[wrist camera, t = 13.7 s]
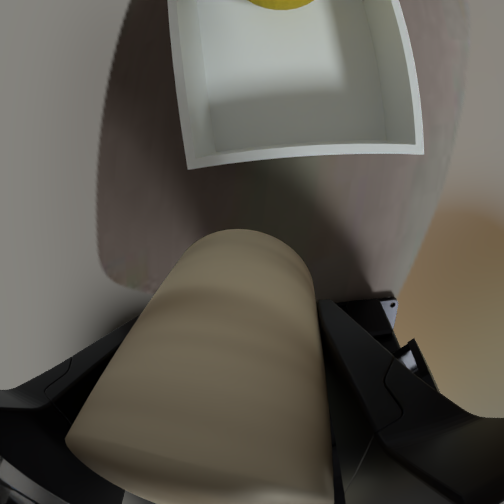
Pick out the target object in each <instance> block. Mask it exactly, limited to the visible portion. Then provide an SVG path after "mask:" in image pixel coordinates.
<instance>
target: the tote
mask: <svg viewBox="0 0 504 504" xmlns="http://www.w3.org/2000/svg"><path fill="white" fill-rule="evenodd" d="M167 1H168V15H169V28H170V39H171V49H172V59H173V68H174V77H175V85H176V93H177V101H178V109H179V116H180V123H181V130H182V136H183V143H184V149H185V156H186V162H187V168H188V170H190V169H196V168H203V167H209V166H216V165H223V164H230V163H238V162H247V161H255V160H265V159H275V158H286V157H299V156H315V155H335V154H421V155H424V139H423V124H422V112H421V103H420V95H419V87H418V80H417V74H416V68H415V63H414V58H413V53H412V48H411V44H410V39H409V35H408V31H407V27H406V23H405V20H404V16H403V13H402V10H401V6H400V3H399V0H314V1H312V2H311V3H309V4H307V5H305V6H302V7H299V8H297V9H291V10H273V9H266V8H263V7H260V6H257V5H255V4H253V3H251V2H250V1H248V0H167Z"/></svg>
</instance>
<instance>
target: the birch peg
mask: <svg viewBox="0 0 504 504" xmlns="http://www.w3.org/2000/svg"><path fill="white" fill-rule="evenodd" d="M65 442H66V444H67V446H68V448H69V449H70V451H71V452H72V453H73V454H74V455H75V456H76V457H77V458H78V459H79V460H80V461H81V462H82V463H84V464H85V465H86V466H87V467H89V468H90V469H91V470H93V471H94V472H95V473H97V474H98V475H100V476H101V477H103V478H105V479H106V480H108V481H110V482H111V483H113V484H115V485H117V486H118V487H120V488H122V489H124V490H126V491H128V492H130V493H132V494H135V495H137V496H139V497H141V498H144V499H146V500H149V501H151V502H154V503H157V504H334V479H333V457H332V441H331V427H330V414H329V403H328V393H327V383H326V373H325V365H324V356H323V348H322V340H321V333H320V325H319V318H318V311H317V304H316V298H315V291H314V285H313V280H312V277H311V274H310V272H309V270H308V268H307V266H306V264H305V263H304V261H303V260H302V258H301V257H300V256H299V255H298V254H297V253H296V252H295V251H294V250H293V249H292V248H291V247H289V246H288V245H287V244H285V243H284V242H282V241H280V240H279V239H277V238H275V237H273V236H270V235H268V234H265V233H262V232H259V231H253V230H248V229H228V230H223V231H218V232H215V233H212V234H209V235H207V236H205V237H203V238H201V239H199V240H198V241H196V242H195V243H194V244H192V245H191V246H190V247H189V248H188V249H187V250H186V251H185V253H184V254H183V255H182V257H181V258H180V259H179V261H178V262H177V264H176V265H175V266H174V268H173V269H172V270H171V272H170V273H169V275H168V276H167V277H166V279H165V280H164V282H163V283H162V284H161V286H160V287H159V289H158V290H157V292H156V293H155V294H154V296H153V297H152V299H151V300H150V302H149V303H148V305H147V306H146V308H145V309H144V310H143V312H142V313H141V315H140V316H139V318H138V319H137V321H136V322H135V324H134V325H133V327H132V328H131V330H130V331H129V333H128V334H127V336H126V337H125V339H124V341H123V342H122V344H121V345H120V347H119V348H118V350H117V351H116V353H115V354H114V356H113V358H112V359H111V361H110V362H109V364H108V366H107V367H106V369H105V370H104V372H103V374H102V375H101V377H100V379H99V380H98V382H97V383H96V385H95V387H94V388H93V390H92V392H91V393H90V395H89V397H88V399H87V400H86V402H85V404H84V405H83V407H82V409H81V411H80V412H79V414H78V416H77V418H76V419H75V421H74V423H73V425H72V427H71V428H70V430H69V432H68V434H67V436H66V438H65Z"/></svg>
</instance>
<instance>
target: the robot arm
mask: <svg viewBox="0 0 504 504" xmlns="http://www.w3.org/2000/svg"><path fill="white" fill-rule="evenodd" d="M393 302H394V303H393ZM391 303H393V304H392V305H390V304H391ZM397 308H398V302H397V300H396V298H394V297H391V298H382V299H368V300H358V301H349V302H343V303H334V302H333V301H332V300H330V299H326V300H318V301H317V311H318V318H319V325H320V333H321V340H322V348H323V356H324V365H325V373H326V383H327V393H328V403H329V414H330V427H331V441H332V457H333V479H334V504H504V418H485V417H479V416H476V415H473V414H471V413H469V412H467V411H465V410H464V409H462V408H461V407H459V406H458V405H456V404H455V403H453V402H452V401H451V400H449V399H448V398H446V397H445V396H443V395H442V394H441V393H440V391H439V389H438V387H437V384H436V382H435V380H434V378H433V375H432V373H431V371H430V369H429V367H428V365H427V363H426V360H425V358H424V357H423V354H422V353H421V351H420V349H419V347H418V345H417V343H416V341H415V339H412V340H411V341H409V342H408V344H407V345H405V346H404V347H402V348H400V345H399V343H398V341H397V338H396V336H395V334H394V331H393V328H394V323H395V318H396V313H397ZM140 315H141V314H140ZM140 315H139V316H140ZM139 316H137V317H135V318H134V319H132V320H130V321H129V322H127V323H125V324H124V325H122V326H121V327H119V328H117V329H116V330H114V331H113V332H111V333H109V334H108V335H106V336H104V337H103V338H101V339H99V340H98V341H96V342H95V343H93V344H91V345H90V346H88V347H86V348H85V349H83V350H82V351H80V352H78V353H77V354H75V355H74V356H73V357H70V358H69V359H67V360H65V361H64V362H62V363H60V364H59V365H57V366H55V367H54V368H52V369H50V370H48V371H46V372H44V373H43V374H41V375H39V376H37V377H35V378H33V379H31V380H30V381H28V382H26V383H24V384H22V385H20V386H18V387H16V388H13V389H9V390H0V504H122V500H123V497H124V493H125V490H124V489H122V488H120V487H118V486H117V485H115V484H113V483H111V482H110V481H108V480H106V479H105V478H103V477H101V476H100V475H98V474H97V473H95V472H94V471H93V470H91V469H90V468H89V467H87V466H86V465H85V464H84V463H82V462H81V461H80V460H79V459H78V458H77V457H76V456H75V455H74V454H73V453H72V452H71V451H70V449H69V448H68V446H67V444H66V442H65V438H66V436H67V434H68V432H69V430H70V428H71V427H72V425H73V423H74V421H75V419H76V418H77V416H78V414H79V412H80V411H81V409H82V407H83V405H84V404H85V402H86V400H87V399H88V397H89V395H90V393H91V392H92V390H93V388H94V387H95V385H96V383H97V382H98V380H99V379H100V377H101V375H102V374H103V372H104V370H105V369H106V367H107V366H108V364H109V362H110V361H111V359H112V358H113V356H114V354H115V353H116V351H117V350H118V348H119V347H120V345H121V344H122V342H123V341H124V339H125V337H126V336H127V334H128V333H129V331H130V330H131V328H132V327H133V325H134V324H135V322H136V321H137V319H138V318H139Z"/></svg>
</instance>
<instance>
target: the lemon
mask: <svg viewBox="0 0 504 504" xmlns="http://www.w3.org/2000/svg"><path fill="white" fill-rule="evenodd" d="M248 1H250V2H251V3H253V4H255V5H257V6H260V7H263V8H266V9H273V10H291V9H297V8H299V7H302V6H305V5H307V4H309V3H311V2H312V1H314V0H248Z"/></svg>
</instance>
